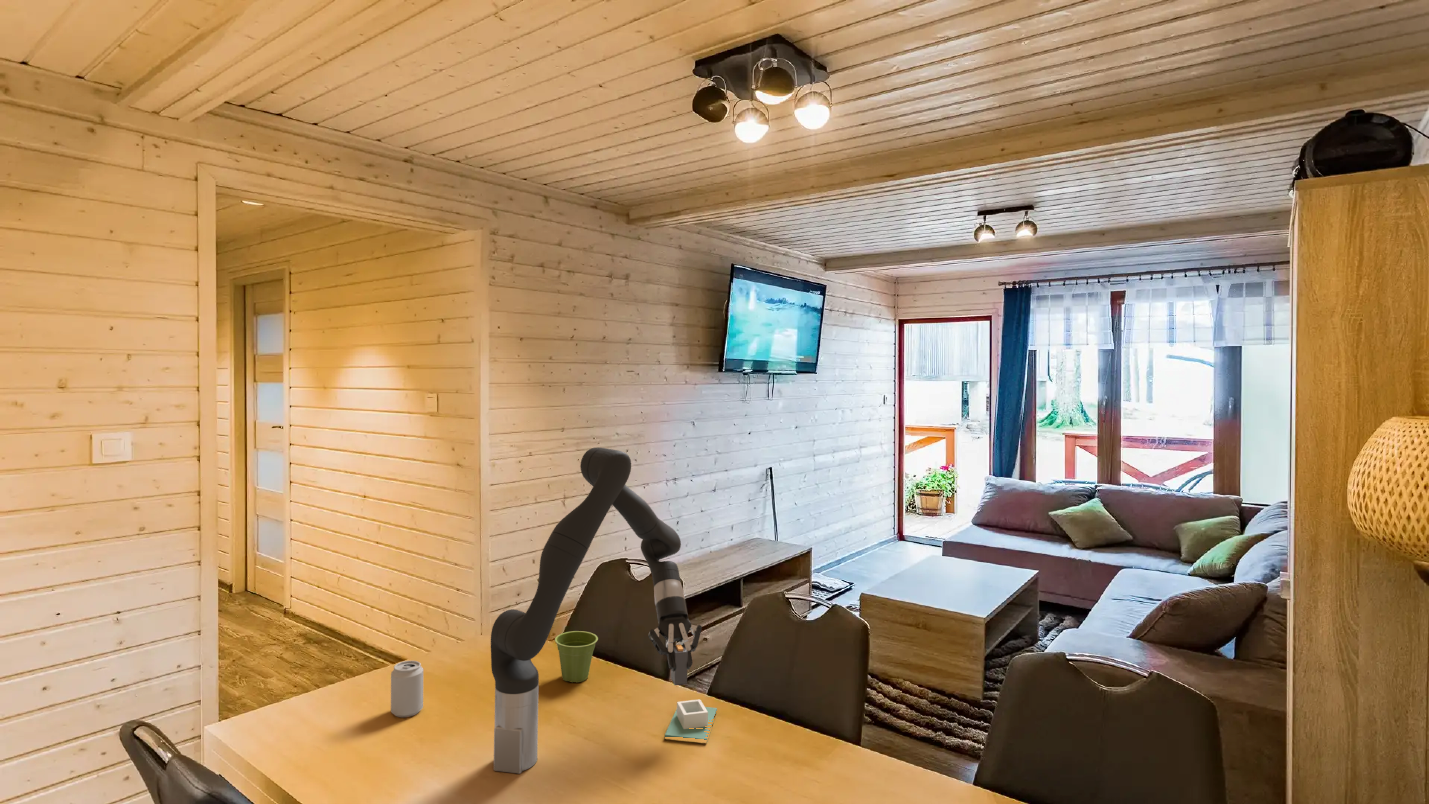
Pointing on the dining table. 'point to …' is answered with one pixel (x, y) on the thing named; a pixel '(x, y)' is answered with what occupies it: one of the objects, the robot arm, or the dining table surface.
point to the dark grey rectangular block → (680, 665)
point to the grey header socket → (692, 714)
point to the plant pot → (575, 654)
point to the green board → (678, 731)
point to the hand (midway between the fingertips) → (681, 668)
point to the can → (406, 689)
